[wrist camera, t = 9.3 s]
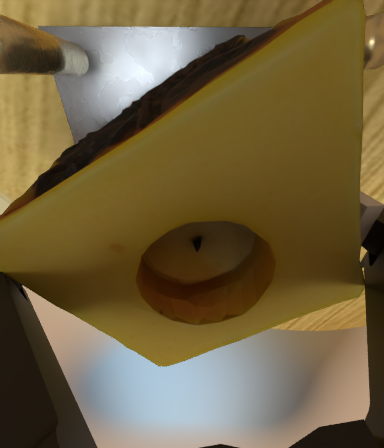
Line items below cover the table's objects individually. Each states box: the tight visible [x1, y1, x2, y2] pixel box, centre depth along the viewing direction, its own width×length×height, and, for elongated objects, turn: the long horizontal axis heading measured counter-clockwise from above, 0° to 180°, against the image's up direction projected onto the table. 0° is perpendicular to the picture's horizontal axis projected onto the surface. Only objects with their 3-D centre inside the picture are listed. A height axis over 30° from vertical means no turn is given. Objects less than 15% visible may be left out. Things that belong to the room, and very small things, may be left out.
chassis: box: [0, 12, 384, 144], centre depth 14 cm, size 16×16×10 cm
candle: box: [0, 0, 366, 366], centre depth 11 cm, size 10×10×10 cm
